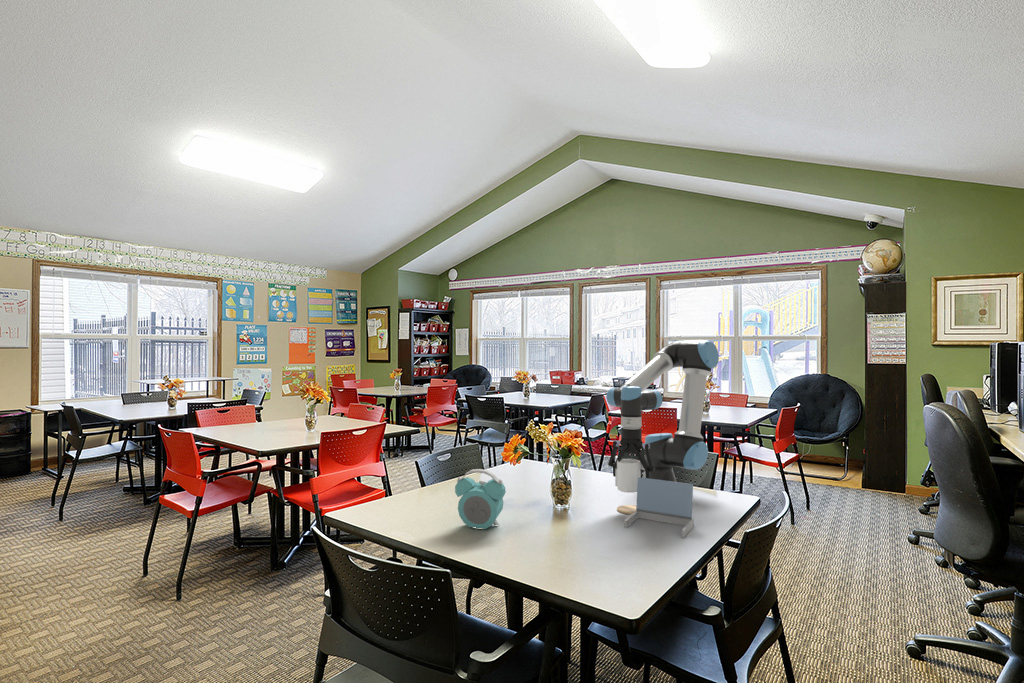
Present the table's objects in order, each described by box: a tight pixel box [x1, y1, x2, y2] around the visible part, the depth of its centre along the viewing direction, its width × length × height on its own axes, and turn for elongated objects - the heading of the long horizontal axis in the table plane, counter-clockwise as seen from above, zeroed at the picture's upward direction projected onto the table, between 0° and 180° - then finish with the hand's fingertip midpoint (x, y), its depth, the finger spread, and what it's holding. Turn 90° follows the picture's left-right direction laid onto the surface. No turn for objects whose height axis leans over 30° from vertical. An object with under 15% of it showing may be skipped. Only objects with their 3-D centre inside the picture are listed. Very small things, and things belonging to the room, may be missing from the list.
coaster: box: [616, 504, 637, 516], centre depth 204 cm, size 11×11×1 cm
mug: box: [616, 458, 645, 494], centre depth 204 cm, size 9×12×11 cm
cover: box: [636, 477, 694, 520], centre depth 192 cm, size 12×19×1 cm
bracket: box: [623, 511, 694, 538], centre depth 186 cm, size 13×20×2 cm, turn 59°
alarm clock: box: [454, 468, 507, 530], centre depth 187 cm, size 17×10×20 cm, turn 74°
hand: (631, 487), depth 204 cm, fingers closed on mug, 10 cm apart
